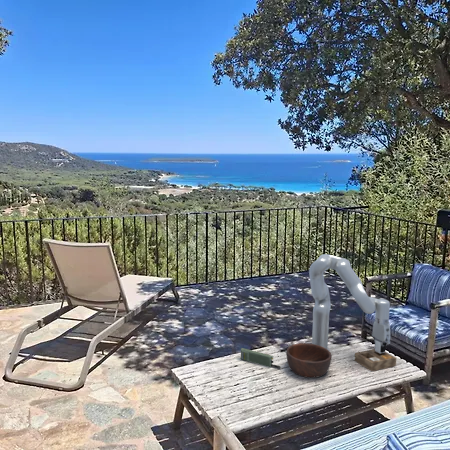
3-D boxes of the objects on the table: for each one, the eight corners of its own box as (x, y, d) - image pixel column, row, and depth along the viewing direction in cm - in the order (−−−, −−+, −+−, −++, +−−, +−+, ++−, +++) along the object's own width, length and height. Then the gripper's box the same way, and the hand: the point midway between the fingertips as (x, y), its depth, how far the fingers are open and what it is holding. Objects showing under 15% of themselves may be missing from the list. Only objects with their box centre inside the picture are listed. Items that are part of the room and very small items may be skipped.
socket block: (371, 371, 228) (372, 362, 227) (354, 360, 241) (355, 352, 240) (395, 366, 235) (396, 357, 234) (378, 355, 248) (378, 347, 247)
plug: (379, 353, 237) (380, 340, 236) (374, 350, 241) (375, 337, 240) (385, 352, 239) (386, 339, 238) (380, 349, 243) (380, 336, 242)
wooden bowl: (319, 385, 212) (320, 367, 211) (277, 371, 227) (278, 353, 226) (337, 367, 232) (338, 350, 230) (298, 355, 247) (298, 339, 245)
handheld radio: (242, 357, 243) (281, 368, 230) (240, 360, 240) (279, 370, 228) (242, 347, 242) (281, 357, 229) (240, 349, 239) (279, 359, 226)
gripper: (397, 324, 232) (395, 355, 234) (376, 315, 247) (374, 344, 249) (387, 326, 229) (385, 357, 231) (366, 316, 244) (364, 345, 246)
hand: (379, 350), depth 240 cm, fingers closed on plug, 4 cm apart
